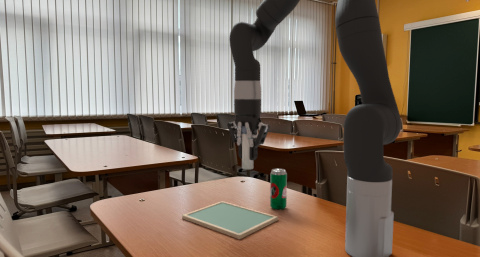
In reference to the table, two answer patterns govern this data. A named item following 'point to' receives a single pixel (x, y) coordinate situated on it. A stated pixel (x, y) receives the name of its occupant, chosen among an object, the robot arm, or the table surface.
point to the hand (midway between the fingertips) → (247, 158)
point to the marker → (246, 150)
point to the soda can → (278, 189)
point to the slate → (230, 219)
